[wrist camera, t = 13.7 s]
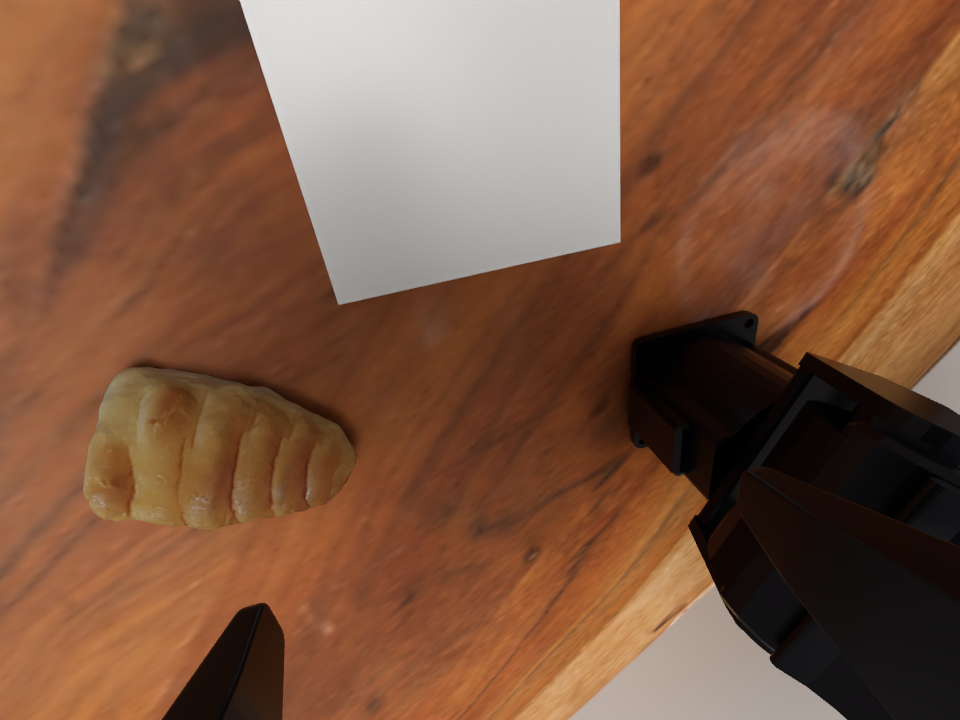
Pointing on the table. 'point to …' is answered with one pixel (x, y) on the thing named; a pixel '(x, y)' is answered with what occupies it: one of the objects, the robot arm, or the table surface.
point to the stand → (446, 131)
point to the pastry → (208, 452)
